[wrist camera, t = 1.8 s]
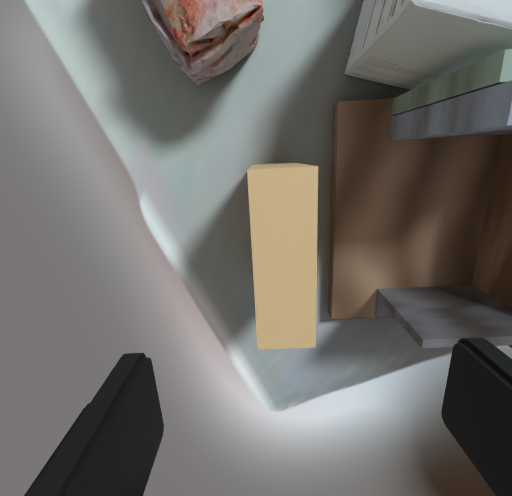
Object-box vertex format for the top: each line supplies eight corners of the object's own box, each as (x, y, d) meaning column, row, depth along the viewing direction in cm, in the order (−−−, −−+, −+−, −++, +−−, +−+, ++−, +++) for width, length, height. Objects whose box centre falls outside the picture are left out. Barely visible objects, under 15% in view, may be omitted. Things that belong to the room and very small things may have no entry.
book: (292, 162, 28) (318, 166, 16) (293, 273, 32) (315, 347, 20) (252, 164, 29) (247, 170, 16) (258, 275, 32) (257, 349, 20)
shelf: (509, 94, 26) (784, 25, 13) (467, 306, 33) (618, 414, 19) (334, 104, 27) (415, 47, 13) (328, 312, 33) (377, 421, 20)
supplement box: (450, -1, 24) (638, -157, 12) (416, 94, 26) (548, 41, 14) (367, -24, 24) (477, -208, 12) (340, 74, 26) (410, 4, 14)
